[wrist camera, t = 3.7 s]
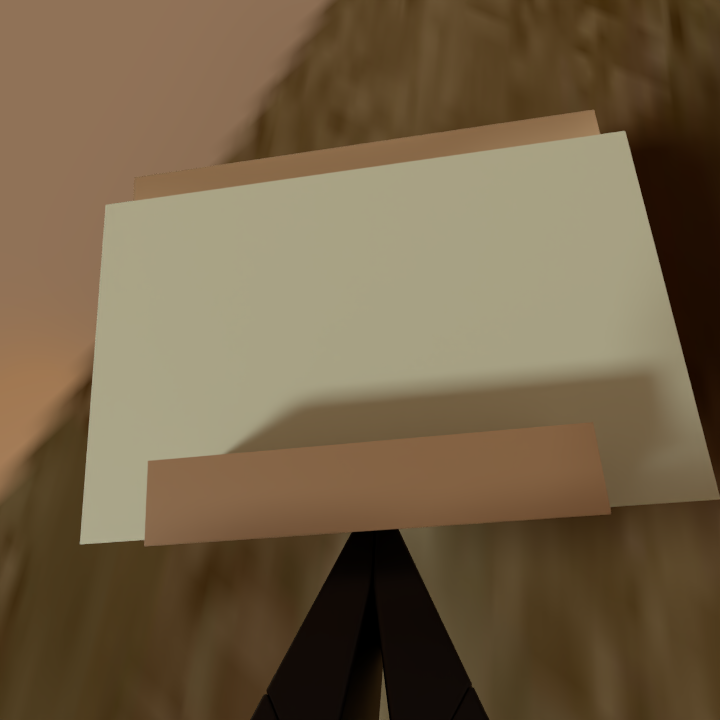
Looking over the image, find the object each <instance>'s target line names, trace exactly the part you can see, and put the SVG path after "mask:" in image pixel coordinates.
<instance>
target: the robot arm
mask: <svg viewBox="0 0 720 720" xmlns="http://www.w3.org/2000/svg"><path fill="white" fill-rule="evenodd" d="M382 671H384V679H385V687H386V695H387V703H388V711H389V719H390V720H489V718H488V716H487V714H486V712H485V710H484V708H483V706H482V704H481V702H480V700H479V698H478V695H477V693H476V691H475V689H474V688H473V687H472V684H471V681H470V679H469V677H468V675H467V673H466V671H465V669H464V666H463V664H462V662H461V660H460V658H459V656H458V654H457V652H456V650H455V647H454V645H453V643H452V641H451V639H450V637H449V635H448V633H447V631H446V628H445V626H444V624H443V622H442V620H441V618H440V616H439V614H438V612H437V610H436V607H435V605H434V603H433V601H432V599H431V597H430V595H429V593H428V591H427V588H426V586H425V584H424V582H423V580H422V578H421V576H420V574H419V572H418V569H417V567H416V565H415V563H414V561H413V559H412V557H411V555H410V553H409V551H408V548H407V546H406V544H405V542H404V540H403V538H402V536H401V534H400V532H399V529H389V530H374V531H360V532H352V533H351V535H350V537H349V538H348V540H347V542H346V544H345V546H344V548H343V550H342V551H341V553H340V555H339V557H338V559H337V561H336V562H335V564H334V566H333V568H332V570H331V572H330V574H329V575H328V577H327V579H326V581H325V583H324V585H323V587H322V588H321V590H320V592H319V594H318V596H317V598H316V599H315V601H314V603H313V605H312V607H311V609H310V611H309V612H308V614H307V616H306V618H305V620H304V622H303V624H302V625H301V627H300V629H299V631H298V633H297V635H296V636H295V638H294V640H293V642H292V644H291V646H290V648H289V649H288V651H287V653H286V655H285V657H284V659H283V661H282V662H281V664H280V666H279V668H278V670H277V672H276V673H275V675H274V677H273V679H272V681H271V683H270V685H269V686H268V688H267V694H268V695H267V694H265V695H263V697H262V699H261V701H260V703H259V705H258V706H257V708H256V710H255V712H254V714H253V716H252V717H251V719H250V720H379V711H380V698H381V685H382Z"/></svg>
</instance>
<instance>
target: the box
mask: <svg viewBox="0 0 720 720" xmlns="http://www.w3.org/2000/svg"><path fill="white" fill-rule="evenodd" d="M599 134H600V132H599V128H598V124H597V120H596V116H595V112H594V110H589V111H582V112H575V113H568V114H561V115H555V116H548V117H541V118H534V119H528V120H521V121H514V122H507V123H500V124H494V125H487V126H480V127H473V128H467V129H460V130H453V131H446V132H439V133H433V134H426V135H419V136H412V137H406V138H399V139H392V140H385V141H378V142H372V143H365V144H358V145H351V146H345V147H338V148H331V149H324V150H317V151H311V152H304V153H297V154H290V155H284V156H277V157H270V158H263V159H256V160H250V161H243V162H236V163H229V164H223V165H216V166H209V167H203V168H196V169H189V170H182V171H176V172H169V173H162V174H155V175H148V176H142V177H135V181H134V199H133V201H137V200H144V199H151V198H158V197H165V196H172V195H179V194H186V193H193V192H200V191H207V190H214V189H221V188H228V187H235V186H242V185H249V184H256V183H263V182H270V181H277V180H284V179H291V178H298V177H305V176H312V175H319V174H326V173H333V172H340V171H347V170H354V169H361V168H368V167H375V166H382V165H389V164H396V163H403V162H410V161H417V160H424V159H431V158H438V157H445V156H452V155H459V154H466V153H473V152H480V151H487V150H494V149H501V148H508V147H515V146H522V145H529V144H536V143H543V142H550V141H557V140H564V139H571V138H578V137H585V136H592V135H599Z"/></svg>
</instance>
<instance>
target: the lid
mask: <svg viewBox="0 0 720 720" xmlns="http://www.w3.org/2000/svg"><path fill="white" fill-rule="evenodd" d="M104 221H105V222H104V234H103V247H102V260H101V273H100V286H99V300H98V314H97V326H96V339H95V352H94V366H93V379H92V392H91V405H90V418H89V432H88V445H87V458H86V471H85V484H84V498H83V511H82V524H81V537H80V544H92V543H106V542H120V541H134V540H145V541H144V546H156V545H171V544H185V543H200V542H214V541H229V540H243V539H258V538H272V537H287V536H301V535H316V534H331V533H345V532H360V531H374V530H389V529H403V528H418V527H432V526H447V525H461V524H476V523H490V522H505V521H519V520H534V519H548V518H563V517H577V516H592V515H606V514H611V509H610V507H618V506H633V505H647V504H661V503H675V502H690V501H704V500H718V499H720V495H719V491H718V488H717V484H716V480H715V476H714V472H713V468H712V464H711V461H710V457H709V453H708V449H707V445H706V441H705V437H704V434H703V430H702V426H701V422H700V418H699V414H698V410H697V406H696V403H695V399H694V395H693V391H692V387H691V383H690V379H689V376H688V372H687V368H686V364H685V360H684V356H683V352H682V349H681V345H680V341H679V337H678V333H677V329H676V325H675V322H674V318H673V314H672V310H671V306H670V302H669V298H668V295H667V291H666V287H665V283H664V279H663V275H662V271H661V267H660V264H659V260H658V256H657V252H656V248H655V244H654V240H653V237H652V233H651V229H650V225H649V221H648V217H647V213H646V210H645V206H644V202H643V198H642V194H641V190H640V186H639V183H638V179H637V175H636V171H635V167H634V163H633V159H632V156H631V152H630V148H629V144H628V140H627V136H626V132H625V131H620V132H613V133H606V134H599V135H592V136H585V137H578V138H571V139H564V140H557V141H550V142H543V143H536V144H529V145H522V146H515V147H508V148H501V149H494V150H487V151H480V152H473V153H466V154H459V155H452V156H445V157H438V158H431V159H424V160H417V161H410V162H403V163H396V164H389V165H382V166H375V167H368V168H361V169H354V170H347V171H340V172H333V173H326V174H319V175H312V176H305V177H298V178H291V179H284V180H277V181H270V182H263V183H256V184H249V185H242V186H235V187H228V188H221V189H214V190H207V191H200V192H193V193H186V194H179V195H172V196H165V197H158V198H151V199H144V200H137V201H130V202H123V203H116V204H109V205H106V208H105V220H104Z"/></svg>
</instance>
